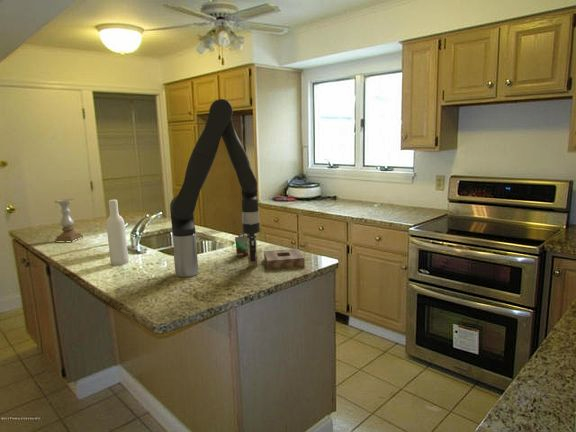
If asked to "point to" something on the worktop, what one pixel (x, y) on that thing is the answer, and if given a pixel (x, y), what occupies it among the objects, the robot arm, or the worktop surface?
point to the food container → (241, 245)
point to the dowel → (250, 264)
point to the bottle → (116, 236)
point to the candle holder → (67, 222)
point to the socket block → (284, 259)
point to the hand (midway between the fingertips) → (252, 259)
